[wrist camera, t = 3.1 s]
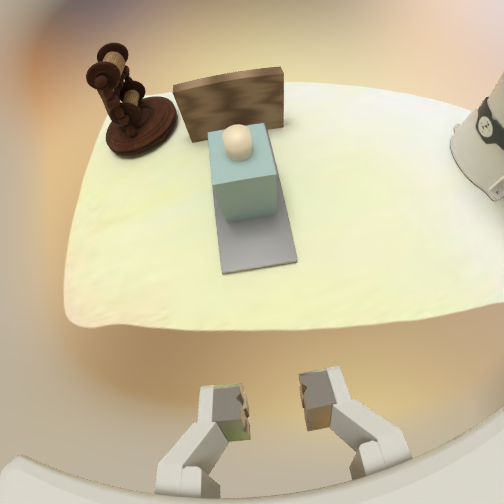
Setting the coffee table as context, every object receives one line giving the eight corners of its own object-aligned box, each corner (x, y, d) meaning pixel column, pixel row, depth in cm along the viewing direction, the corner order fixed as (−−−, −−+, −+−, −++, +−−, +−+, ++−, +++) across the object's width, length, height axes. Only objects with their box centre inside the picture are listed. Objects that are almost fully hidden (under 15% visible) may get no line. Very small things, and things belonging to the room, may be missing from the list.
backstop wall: (280, 119, 45) (280, 66, 34) (283, 127, 44) (283, 73, 33) (192, 134, 46) (173, 85, 34) (192, 142, 45) (172, 92, 34)
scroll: (117, 116, 50) (77, 51, 31) (179, 97, 50) (151, 20, 31) (106, 168, 45) (49, 98, 26) (177, 148, 45) (136, 58, 26)
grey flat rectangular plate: (266, 129, 45) (266, 125, 44) (296, 262, 37) (297, 260, 36) (209, 139, 45) (208, 135, 44) (223, 274, 37) (221, 272, 36)
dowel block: (266, 168, 41) (262, 105, 29) (276, 214, 38) (276, 157, 26) (221, 175, 41) (202, 116, 29) (226, 222, 39) (206, 169, 26)
